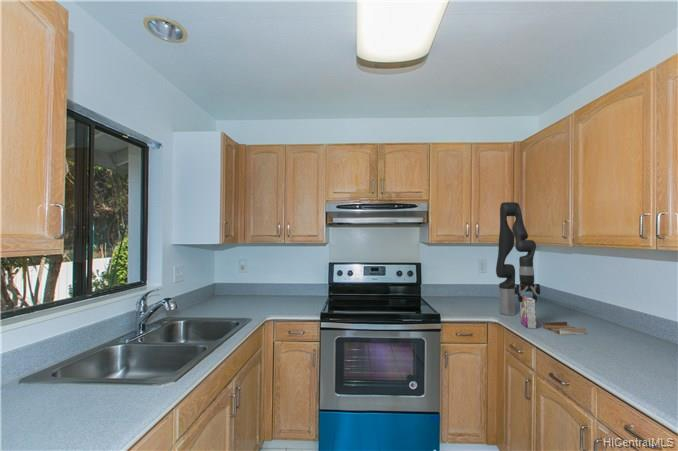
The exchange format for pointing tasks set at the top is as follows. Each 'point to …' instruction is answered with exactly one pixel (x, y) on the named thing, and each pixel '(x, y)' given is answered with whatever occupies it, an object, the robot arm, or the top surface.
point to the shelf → (563, 328)
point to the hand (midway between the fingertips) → (527, 301)
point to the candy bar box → (528, 312)
